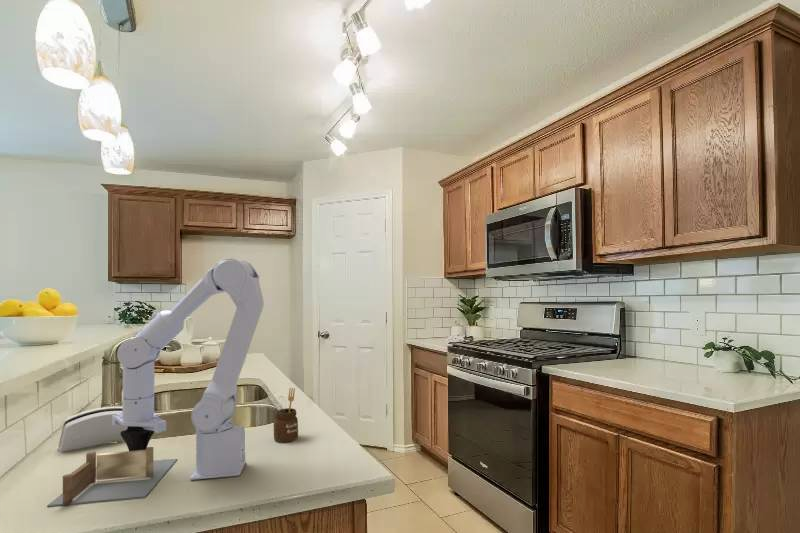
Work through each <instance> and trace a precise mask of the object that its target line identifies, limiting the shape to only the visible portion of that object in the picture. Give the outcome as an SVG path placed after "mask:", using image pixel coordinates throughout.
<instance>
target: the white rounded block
mask: <svg viewBox="0 0 800 533" xmlns="http://www.w3.org/2000/svg"><path fill="white" fill-rule="evenodd" d="M122 412H123V406H118V405H117V406H104V407H98V408H97V407H96V408H92V409H88V410H85V411H83V412H82V411H81V412H79V413H77V414H74V415H71V416H69V417H67V418H65V419H64V422H63V425H62V430H61V434H60V438H59V441H58V442H59V443H58V445H57V447H58V448H59V449H58V451H59V453H63V452H65V453H66V452H69V451H75V450H79V449H85V448H88V447H93V446H99V445H103V444H108V443H114V442H118V441H122V440H123V441H124V439H123V438H122V436H121V432H122V431H125V430H127V428H128V426H123V425H119V424H118V425H112V416H113V415H117V414H120V413H122Z"/></svg>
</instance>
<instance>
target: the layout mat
mask: <svg viewBox="0 0 800 533" xmlns="http://www.w3.org/2000/svg"><path fill="white" fill-rule="evenodd" d="M177 461H178V458H170V459H168V458H167V459H158V460H154V475H153V476H150V477H146V476H137V477H127V478H117V479H107V480H97V466H96V482H94V483H92V484H89V485H88V486H87V487H86V488H85V489H84V490H82V491H81V492H80V493H79V494H78V495H76V496H75V497H74V498H73V499H72V502H71V503H70V505H69V506H71V505H81V504H92V503H103V502H105V503H106V502H111V501H112V502H113V501H125V500H136V499H145V498H147V496H148V495H149V494H150V492H151V491H152V490H154V489H155V487H156V486H157V484H158V483H159V482H160V481H161V480H162V478H163V477H165V475H166V474H167V473H168V471H169V470H170V469H171V468H172V467H173V466H174V464H175V463H176V462H177ZM61 506H63V492H62V493H61V494H60V495H59V496H57V497H56V498H55V499H53V500H52V501H51V502H50V503H48V504H47V508H51V507H61Z"/></svg>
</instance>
